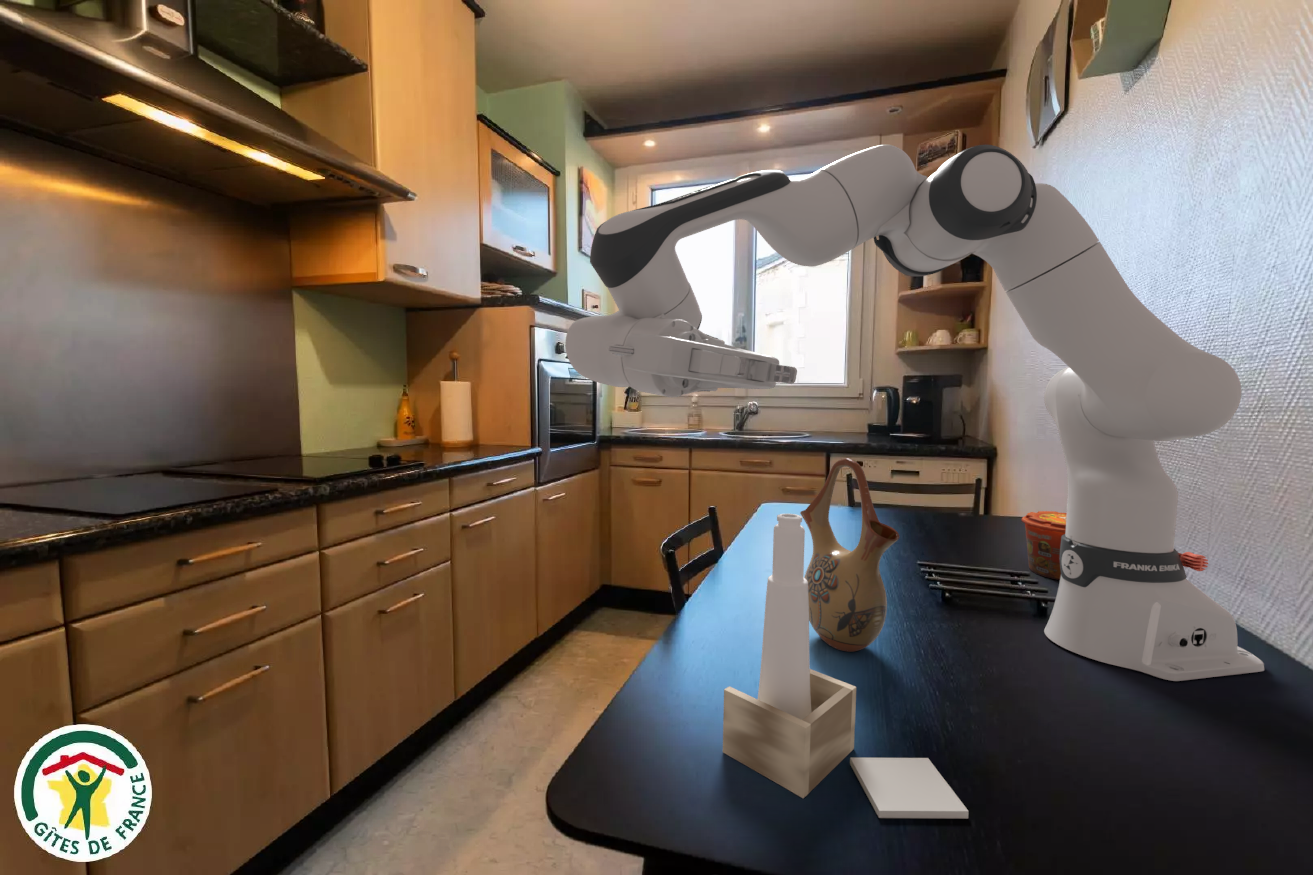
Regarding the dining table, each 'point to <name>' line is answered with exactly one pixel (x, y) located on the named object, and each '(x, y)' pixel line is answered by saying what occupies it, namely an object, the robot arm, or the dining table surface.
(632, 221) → the robot arm
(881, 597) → the ceramic vessel
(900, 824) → the dining table surface
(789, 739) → the beech cradle
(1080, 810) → the dining table surface
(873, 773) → the stone coaster
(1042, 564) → the food container
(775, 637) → the cosmetic bottle
